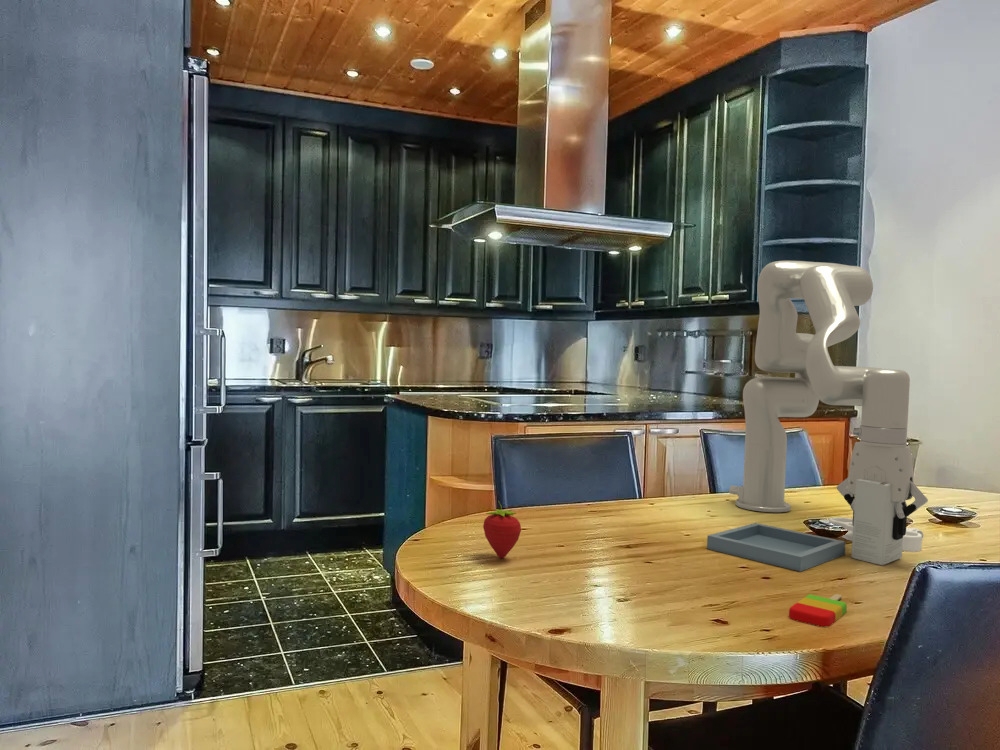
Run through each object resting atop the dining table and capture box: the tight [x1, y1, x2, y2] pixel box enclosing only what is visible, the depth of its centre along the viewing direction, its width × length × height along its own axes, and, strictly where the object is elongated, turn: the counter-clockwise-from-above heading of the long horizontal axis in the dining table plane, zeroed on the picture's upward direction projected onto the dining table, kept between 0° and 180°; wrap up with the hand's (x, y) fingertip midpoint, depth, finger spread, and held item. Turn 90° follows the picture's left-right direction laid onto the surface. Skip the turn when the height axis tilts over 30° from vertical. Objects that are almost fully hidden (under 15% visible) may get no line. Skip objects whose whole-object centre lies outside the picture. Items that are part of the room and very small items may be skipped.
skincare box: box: [851, 479, 903, 566], centre depth 137 cm, size 8×6×15 cm
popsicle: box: [788, 593, 848, 627], centre depth 108 cm, size 6×15×2 cm, turn 140°
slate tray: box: [706, 522, 846, 572], centre depth 140 cm, size 18×18×2 cm
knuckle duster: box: [828, 516, 924, 553], centre depth 152 cm, size 3×18×15 cm
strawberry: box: [482, 500, 522, 559], centre depth 129 cm, size 6×8×10 cm
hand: (878, 534), depth 137 cm, fingers closed on skincare box, 6 cm apart
